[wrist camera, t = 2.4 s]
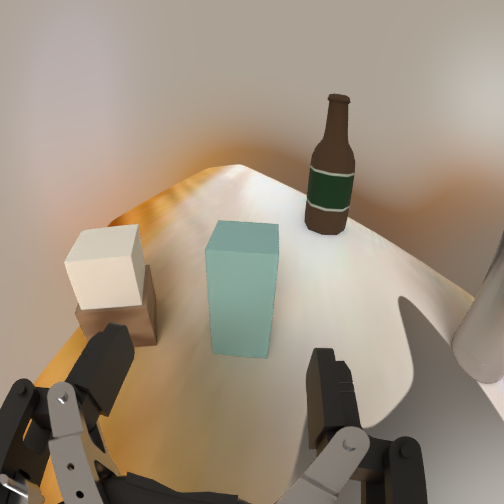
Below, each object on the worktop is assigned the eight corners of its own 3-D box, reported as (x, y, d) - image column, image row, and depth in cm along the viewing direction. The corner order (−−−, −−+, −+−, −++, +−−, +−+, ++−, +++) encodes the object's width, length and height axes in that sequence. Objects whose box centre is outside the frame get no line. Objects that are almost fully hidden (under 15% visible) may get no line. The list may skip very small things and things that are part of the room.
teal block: (268, 321, 28) (278, 224, 23) (267, 358, 24) (279, 254, 19) (221, 317, 29) (218, 220, 23) (212, 353, 24) (205, 249, 19)
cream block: (145, 267, 27) (138, 223, 25) (142, 305, 22) (130, 255, 20) (93, 272, 26) (82, 230, 23) (81, 309, 21) (64, 262, 18)
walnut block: (156, 301, 30) (149, 264, 28) (157, 346, 25) (146, 307, 22) (101, 306, 29) (89, 270, 26) (92, 350, 23) (74, 313, 20)
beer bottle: (295, 221, 51) (306, 91, 39) (327, 216, 54) (340, 97, 42) (320, 239, 45) (337, 92, 33) (353, 232, 48) (372, 100, 36)
